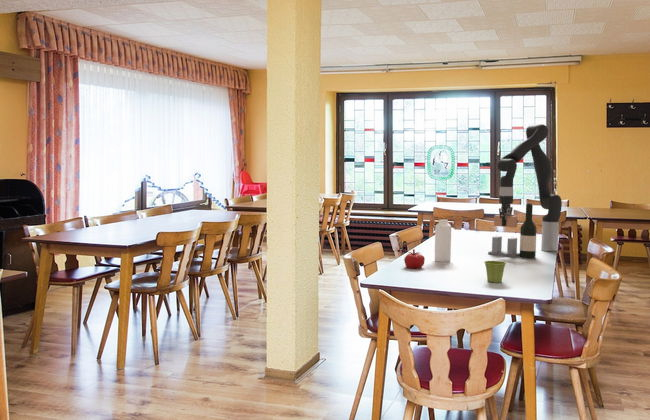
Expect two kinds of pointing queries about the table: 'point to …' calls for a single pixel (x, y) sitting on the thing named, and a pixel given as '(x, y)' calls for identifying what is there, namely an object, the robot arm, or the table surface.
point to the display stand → (498, 246)
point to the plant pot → (494, 270)
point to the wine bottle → (528, 235)
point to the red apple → (414, 260)
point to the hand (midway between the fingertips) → (505, 225)
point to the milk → (443, 241)
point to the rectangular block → (510, 221)
